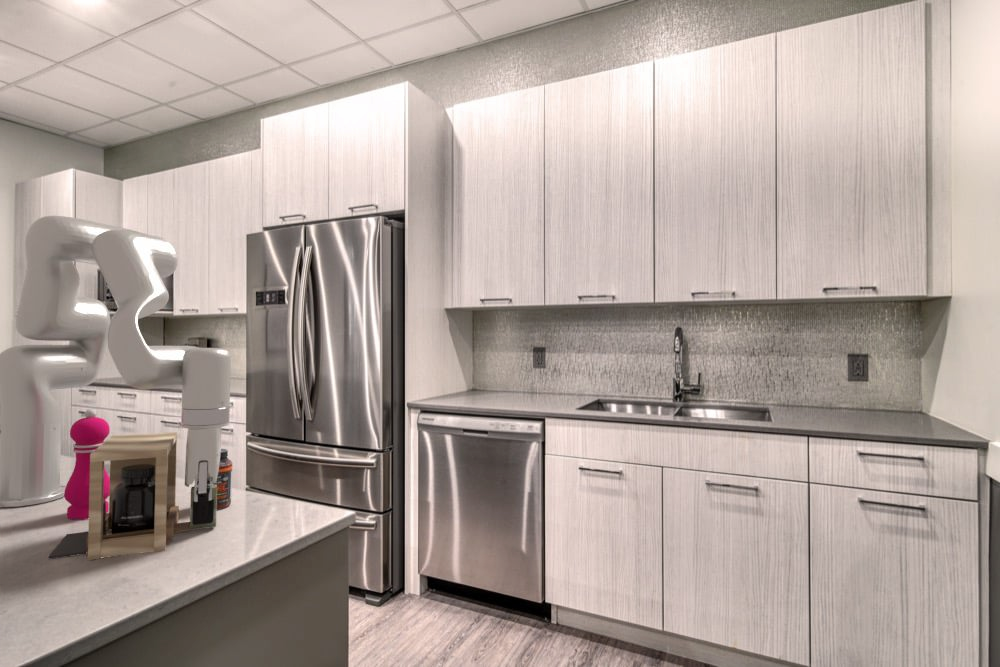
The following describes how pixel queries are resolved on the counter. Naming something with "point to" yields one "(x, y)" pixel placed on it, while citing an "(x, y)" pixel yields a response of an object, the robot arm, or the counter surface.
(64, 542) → the mat
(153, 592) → the counter surface
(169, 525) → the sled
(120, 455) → the tunnel
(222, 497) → the supplement bottle
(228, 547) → the counter surface
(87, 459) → the pepper mill
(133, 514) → the supplement bottle
